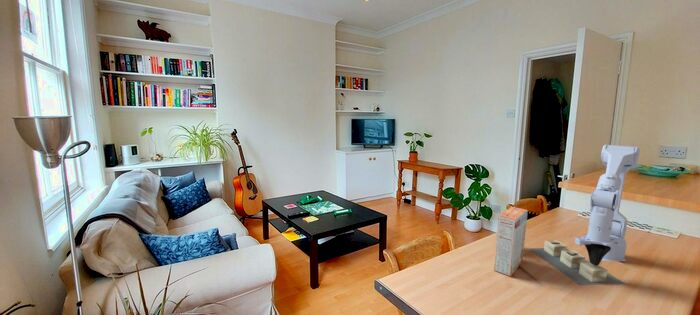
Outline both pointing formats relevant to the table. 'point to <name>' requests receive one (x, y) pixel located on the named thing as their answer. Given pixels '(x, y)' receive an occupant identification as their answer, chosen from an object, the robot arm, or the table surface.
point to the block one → (554, 247)
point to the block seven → (572, 259)
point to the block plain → (593, 272)
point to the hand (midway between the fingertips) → (594, 263)
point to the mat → (572, 269)
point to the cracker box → (510, 240)
